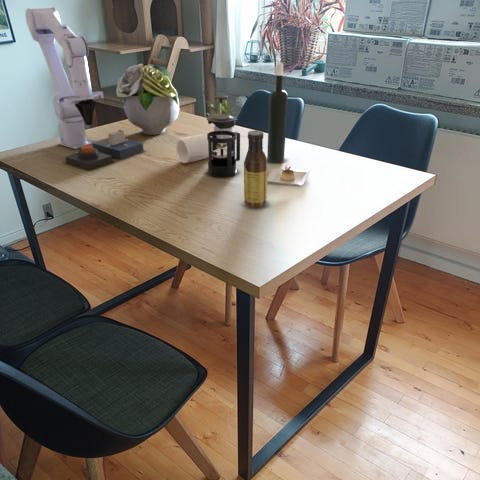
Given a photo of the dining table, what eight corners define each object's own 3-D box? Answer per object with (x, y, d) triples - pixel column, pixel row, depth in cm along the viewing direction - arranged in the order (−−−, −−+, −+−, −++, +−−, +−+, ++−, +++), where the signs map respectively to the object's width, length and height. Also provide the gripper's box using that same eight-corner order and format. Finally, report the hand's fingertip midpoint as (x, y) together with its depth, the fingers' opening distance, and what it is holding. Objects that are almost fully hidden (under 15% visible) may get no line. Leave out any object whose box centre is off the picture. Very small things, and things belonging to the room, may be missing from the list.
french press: (215, 180, 153) (213, 101, 140) (200, 171, 159) (197, 95, 146) (246, 172, 158) (247, 96, 145) (230, 164, 165) (230, 90, 151)
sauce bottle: (253, 198, 142) (254, 126, 130) (270, 203, 139) (273, 131, 127) (239, 205, 138) (239, 132, 126) (256, 211, 135) (258, 136, 123)
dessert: (309, 174, 157) (310, 159, 154) (303, 188, 148) (304, 172, 145) (272, 171, 160) (273, 156, 157) (264, 184, 151) (265, 168, 148)
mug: (213, 160, 168) (213, 136, 164) (189, 166, 163) (188, 141, 159) (194, 151, 176) (193, 128, 171) (170, 157, 171) (168, 133, 166)
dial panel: (93, 151, 175) (92, 142, 174) (117, 144, 183) (115, 135, 181) (120, 159, 169) (119, 150, 167) (143, 151, 176) (142, 142, 174)
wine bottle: (265, 162, 167) (268, 63, 149) (269, 156, 171) (273, 60, 154) (281, 163, 166) (287, 64, 148) (285, 158, 170) (291, 61, 152)
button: (79, 152, 164) (78, 146, 163) (88, 149, 166) (87, 144, 165) (86, 154, 162) (85, 148, 161) (95, 151, 164) (94, 146, 163)
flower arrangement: (109, 133, 194) (98, 64, 179) (156, 120, 209) (150, 56, 195) (151, 145, 181) (143, 72, 166) (198, 131, 196) (195, 63, 182)
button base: (66, 162, 166) (63, 151, 163) (89, 155, 172) (87, 143, 170) (89, 170, 160) (87, 158, 158) (112, 162, 166) (111, 150, 164)
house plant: (196, 139, 188) (194, 93, 178) (229, 134, 193) (229, 89, 183) (210, 149, 178) (209, 101, 168) (245, 144, 182) (245, 97, 173)
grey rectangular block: (113, 145, 172) (111, 133, 169) (109, 144, 172) (108, 133, 170) (125, 141, 175) (123, 130, 173) (121, 140, 176) (120, 129, 174)
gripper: (70, 85, 151) (79, 131, 159) (106, 78, 161) (113, 121, 169) (56, 83, 155) (65, 127, 163) (92, 76, 164) (99, 118, 172)
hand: (88, 124), depth 166 cm, fingers closed
